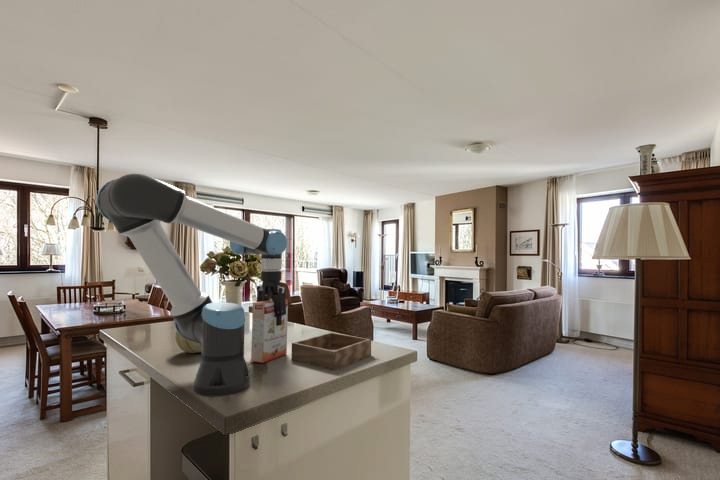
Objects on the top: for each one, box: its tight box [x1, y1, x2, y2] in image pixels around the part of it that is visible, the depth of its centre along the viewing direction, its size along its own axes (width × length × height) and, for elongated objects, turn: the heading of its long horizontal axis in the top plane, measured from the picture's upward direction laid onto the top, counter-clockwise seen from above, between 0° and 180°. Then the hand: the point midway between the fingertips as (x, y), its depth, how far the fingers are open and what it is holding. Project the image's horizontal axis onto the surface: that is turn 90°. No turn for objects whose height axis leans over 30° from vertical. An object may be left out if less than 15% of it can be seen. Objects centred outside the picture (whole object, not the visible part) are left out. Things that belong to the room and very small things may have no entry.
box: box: [291, 332, 372, 371], centre depth 133 cm, size 22×20×6 cm
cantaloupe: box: [174, 330, 202, 354], centre depth 139 cm, size 15×15×15 cm
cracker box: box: [250, 298, 289, 364], centre depth 132 cm, size 14×6×21 cm, turn 156°
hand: (270, 332), depth 132 cm, fingers closed on cracker box, 6 cm apart
